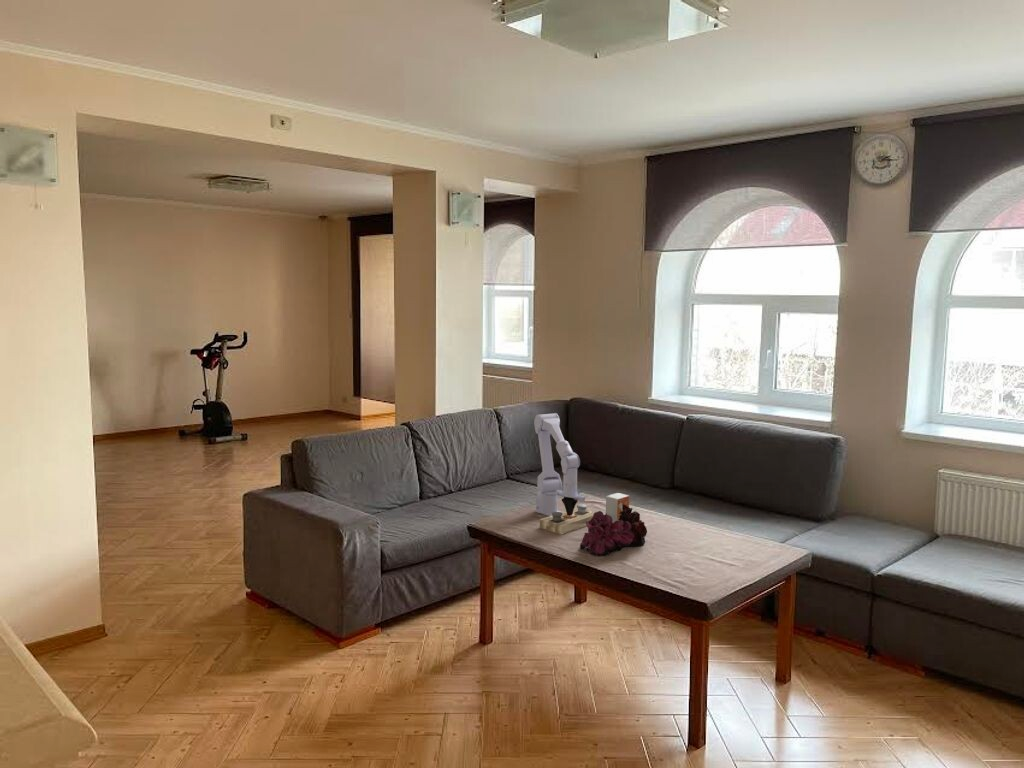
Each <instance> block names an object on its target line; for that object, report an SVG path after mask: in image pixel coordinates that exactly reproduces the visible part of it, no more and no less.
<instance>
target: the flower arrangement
mask: <svg viewBox="0 0 1024 768" xmlns="http://www.w3.org/2000/svg"><path fill="white" fill-rule="evenodd" d="M633 509H634V508H632V507H631V508H630V506H629V507H628V506H626V505H624V504H623V506H622V510H623V511H621V512H620V513H619V514H621V515H620V516H619V517H620V518H619V519H618V520H619V521H615V522H614V523H612V521H613V519H612V517H611V516H609V515H607V514H606V513H605V514H604V512H603V511H601V510H598V511H596V512H595V513H594V514H593V518H592V519H591V520H590V521H587V522H586V525H587V526H586V528H587V532H584V535H583V538H582V541H581V542H580V544H579V548H580V549H581V550H584V549H586V551H588V552H589V554H590V555H593V556H596V557H608V556H609V554H611V553H615V552H617V551H621V550H623V549H624V548H625V549H626V548H629V549H630V548H639V547H644V546H645V544H646V539H645V537H646V536H647V535H648V530H647V527H646V525H645V521H643V520H641V514H640V513H639V512H637V511H633Z"/></svg>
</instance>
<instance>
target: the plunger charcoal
mask: <svg viewBox="0 0 1024 768" xmlns="http://www.w3.org/2000/svg"><path fill="white" fill-rule="evenodd" d="M552 516H553V522H555V523H560V522H561V516H562V512H553V513H552Z"/></svg>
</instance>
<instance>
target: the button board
mask: <svg viewBox="0 0 1024 768" xmlns="http://www.w3.org/2000/svg"><path fill="white" fill-rule="evenodd" d="M561 513H562V516H561V522H560V523H555V522H553V516H545V517H543V518H540V519H539V528H540V529H543V530H546V531H550V532H552V533H556V534H557V535H564V534H567V533H569V532H572V531H575V530H578V529H581V528H584V527H587V525H586V522H587V521H590V520H591V519H592V518H593V514H594V513H595V512H594V511H591V510H588V509H586V514H584V515H581V514H578V508H577V507H574V510H573V514H575V517H574V518H572V519H568V518H565V516H564V514H566V513H567V512H566V510H565V511H562V512H561Z"/></svg>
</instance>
